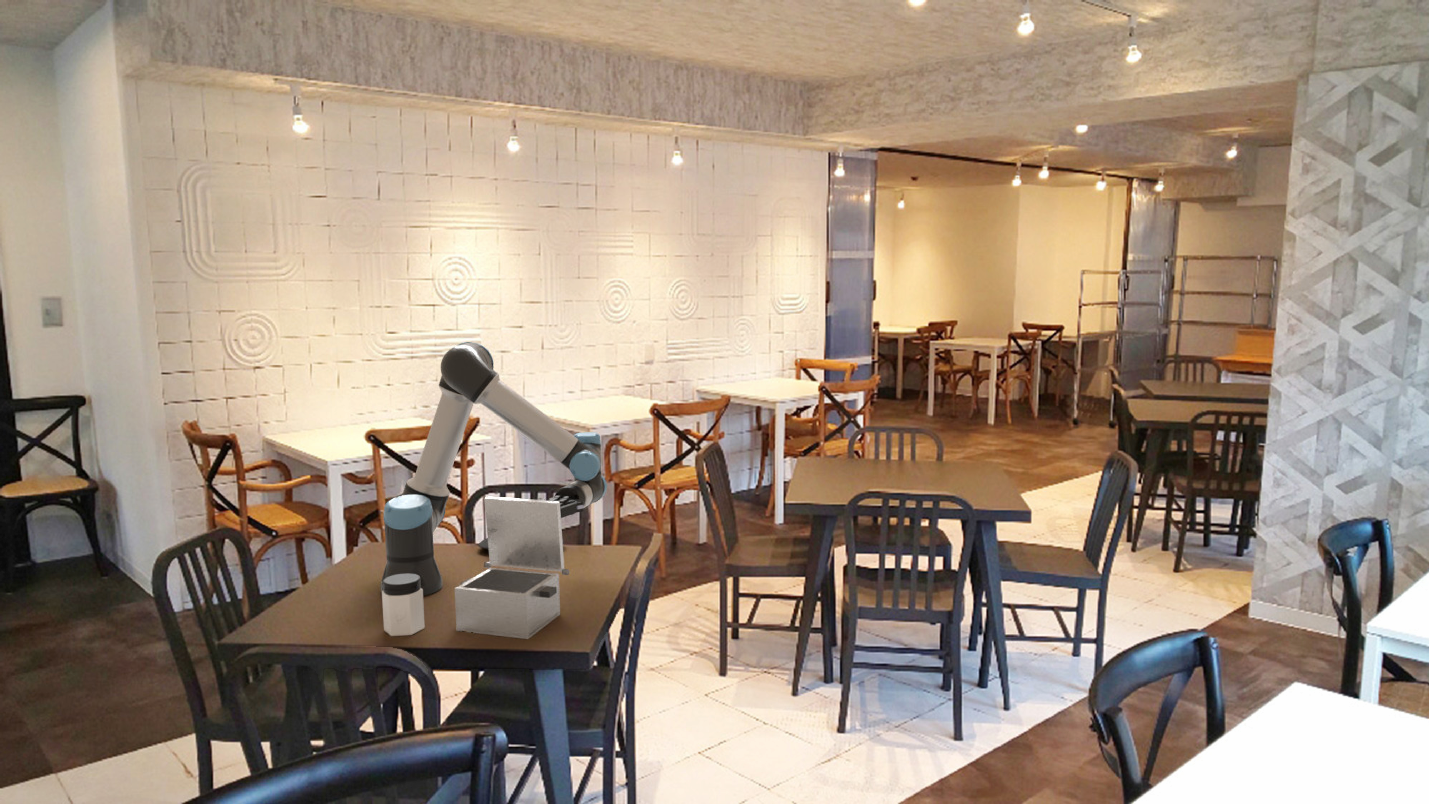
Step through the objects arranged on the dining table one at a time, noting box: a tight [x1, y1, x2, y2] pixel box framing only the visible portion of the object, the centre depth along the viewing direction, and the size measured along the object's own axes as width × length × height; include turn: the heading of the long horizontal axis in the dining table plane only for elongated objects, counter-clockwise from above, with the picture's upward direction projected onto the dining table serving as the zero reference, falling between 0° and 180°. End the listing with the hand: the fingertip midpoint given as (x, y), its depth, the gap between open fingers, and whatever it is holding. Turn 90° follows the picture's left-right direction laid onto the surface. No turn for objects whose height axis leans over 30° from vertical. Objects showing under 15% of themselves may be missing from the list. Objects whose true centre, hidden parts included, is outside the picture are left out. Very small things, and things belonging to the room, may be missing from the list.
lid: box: [483, 496, 565, 573], centre depth 230 cm, size 17×19×3 cm
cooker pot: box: [454, 561, 570, 640], centre depth 223 cm, size 18×23×11 cm
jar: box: [381, 573, 425, 637], centre depth 219 cm, size 9×8×12 cm
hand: (531, 520), depth 231 cm, fingers closed
